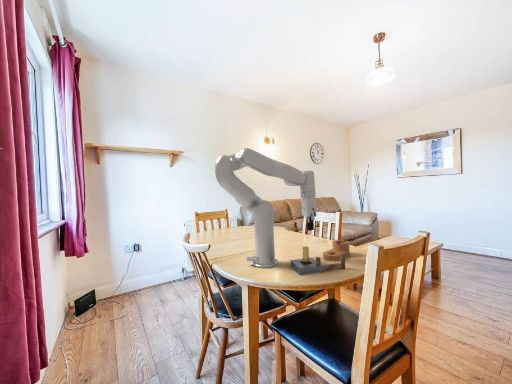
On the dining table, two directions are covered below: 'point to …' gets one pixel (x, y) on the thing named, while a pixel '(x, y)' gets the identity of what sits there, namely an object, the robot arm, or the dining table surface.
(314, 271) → the collar block
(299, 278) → the dining table surface
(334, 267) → the brown drawer handle
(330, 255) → the bracket
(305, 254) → the pin
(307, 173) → the robot arm
